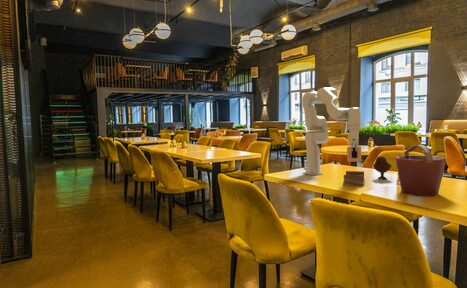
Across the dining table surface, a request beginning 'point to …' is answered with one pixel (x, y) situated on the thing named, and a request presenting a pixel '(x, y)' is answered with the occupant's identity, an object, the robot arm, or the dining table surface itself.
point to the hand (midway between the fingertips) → (354, 157)
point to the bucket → (420, 172)
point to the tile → (349, 155)
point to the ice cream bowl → (382, 166)
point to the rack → (354, 178)
